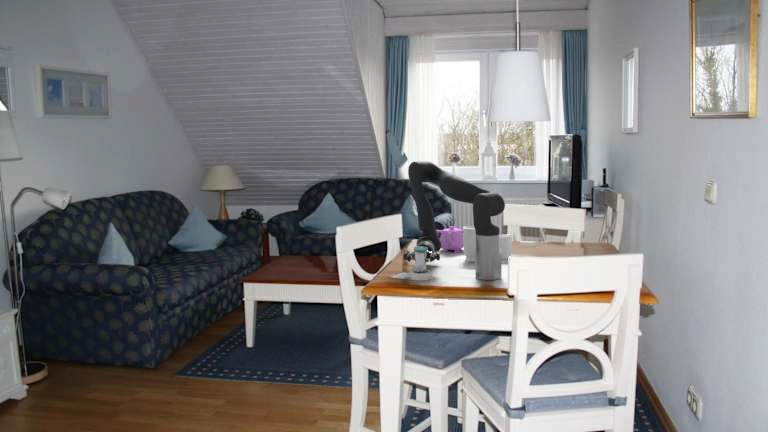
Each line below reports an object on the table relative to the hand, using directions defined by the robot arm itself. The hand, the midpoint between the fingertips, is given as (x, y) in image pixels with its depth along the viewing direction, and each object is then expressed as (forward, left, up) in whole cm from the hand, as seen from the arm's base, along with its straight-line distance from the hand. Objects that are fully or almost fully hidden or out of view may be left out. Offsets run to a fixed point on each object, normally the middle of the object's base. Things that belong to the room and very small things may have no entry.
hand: (419, 259), depth 265 cm
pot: (+22, -64, -9) cm, 68 cm away
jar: (+1, -47, -9) cm, 47 cm away
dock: (+4, -1, -9) cm, 9 cm away
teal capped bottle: (0, 0, -7) cm, 8 cm away
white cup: (-7, -59, -9) cm, 60 cm away
